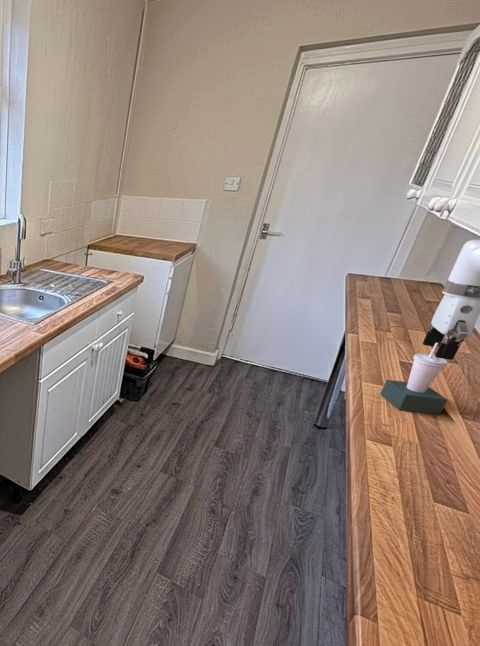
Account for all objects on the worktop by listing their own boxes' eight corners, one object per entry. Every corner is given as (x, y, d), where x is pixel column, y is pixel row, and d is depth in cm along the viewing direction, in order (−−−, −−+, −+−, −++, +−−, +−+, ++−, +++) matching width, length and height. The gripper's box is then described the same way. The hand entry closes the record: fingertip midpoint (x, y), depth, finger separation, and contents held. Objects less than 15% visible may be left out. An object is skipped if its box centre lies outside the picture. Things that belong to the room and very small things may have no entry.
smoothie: (425, 386, 117) (448, 341, 111) (437, 397, 112) (461, 350, 106) (395, 381, 119) (416, 337, 114) (406, 392, 114) (428, 346, 108)
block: (417, 398, 120) (425, 384, 118) (439, 415, 112) (447, 399, 110) (379, 394, 123) (386, 379, 121) (398, 410, 115) (406, 394, 113)
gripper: (504, 300, 95) (470, 367, 102) (472, 284, 109) (444, 344, 115) (458, 296, 99) (428, 360, 106) (433, 281, 112) (407, 338, 119)
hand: (436, 351), depth 110 cm, fingers open, 9 cm apart
